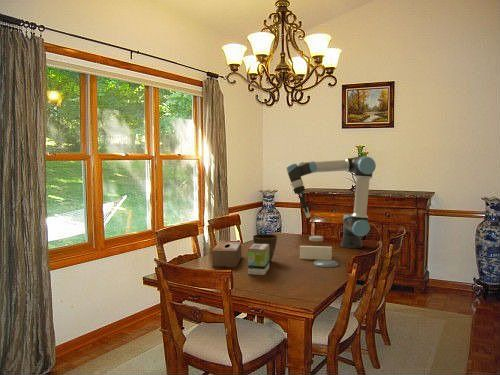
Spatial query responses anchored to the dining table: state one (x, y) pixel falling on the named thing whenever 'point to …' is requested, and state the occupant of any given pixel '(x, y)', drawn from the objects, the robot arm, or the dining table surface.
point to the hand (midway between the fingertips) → (308, 217)
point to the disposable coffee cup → (316, 240)
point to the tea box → (258, 259)
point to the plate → (326, 263)
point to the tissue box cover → (226, 254)
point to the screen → (316, 252)
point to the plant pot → (266, 242)
